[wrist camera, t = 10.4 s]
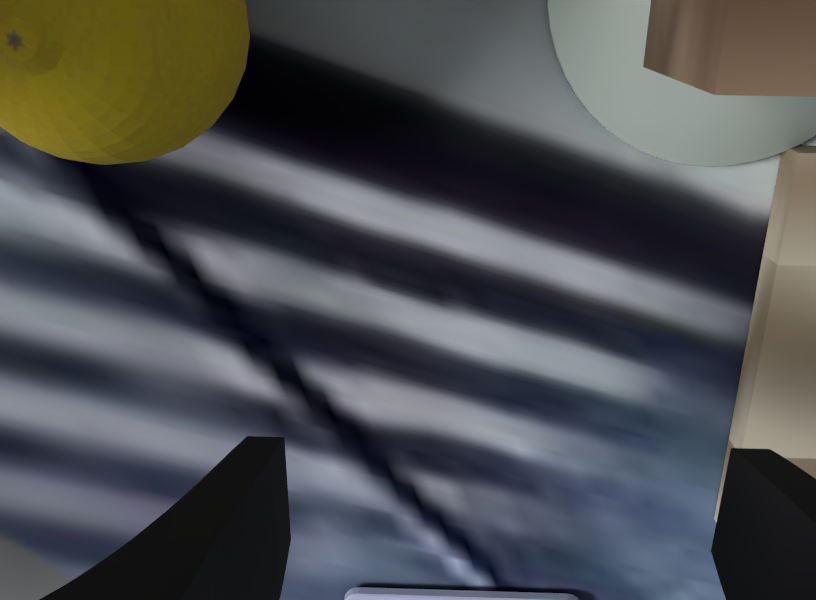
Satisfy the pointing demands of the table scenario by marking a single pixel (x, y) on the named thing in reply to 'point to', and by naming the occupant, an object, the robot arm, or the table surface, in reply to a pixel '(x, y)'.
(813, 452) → the pocket block
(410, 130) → the table surface
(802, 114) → the disc
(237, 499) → the robot arm
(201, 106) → the lemon
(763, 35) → the walnut block
